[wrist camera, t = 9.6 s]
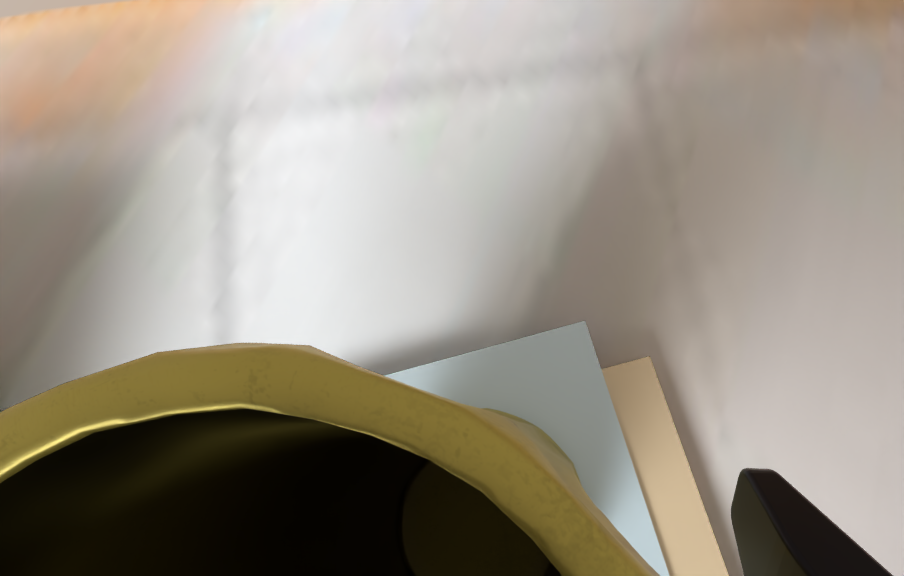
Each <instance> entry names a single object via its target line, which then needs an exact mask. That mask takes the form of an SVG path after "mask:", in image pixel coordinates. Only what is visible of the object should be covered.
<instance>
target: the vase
mask: <svg viewBox="0 0 904 576" xmlns="http://www.w3.org/2000/svg"><path fill="white" fill-rule="evenodd" d="M0 576H660V575H659V574H658V573H657V572H656V571H655V570H654V569H653V568H652V567H651V566H650V565H649V564H648V563H647V562H646V561H645V560H644V559H643V558H642V557H641V555H640V554H639V553H638V552H637V551H636V550H635V549H634V548H633V547H632V546H631V544H630V543H629V542H628V541H627V540H626V539H625V538H624V537H623V535H622V534H621V533H620V532H619V531H618V530H617V529H616V528H615V527H614V525H613V524H612V523H611V522H610V521H609V519H608V518H607V517H606V516H605V515H604V513H603V512H602V511H601V510H600V509H598V508H597V507H596V505H595V504H594V503H593V502H592V500H591V499H590V498H589V496H588V495H587V493H586V492H585V490H584V489H583V487H582V485H581V482H580V480H579V477H578V474H577V472H576V469H575V467H574V464H573V462H572V461H571V460H570V459H569V457H568V456H567V455H566V453H565V452H564V451H563V450H562V449H561V448H560V447H559V446H558V445H557V444H556V443H555V442H554V441H553V440H552V439H551V437H550V436H548V435H547V434H546V433H545V432H544V431H543V430H542V429H540V428H539V427H537V426H535V425H534V424H532V423H530V422H528V421H526V420H524V419H522V418H519V417H517V416H514V415H512V414H509V413H506V412H502V411H499V410H494V409H490V408H477V407H473V406H469V405H465V404H461V403H458V402H455V401H453V400H450V399H447V398H444V397H441V396H438V395H435V394H433V393H430V392H427V391H424V390H421V389H418V388H416V387H413V386H410V385H407V384H405V383H402V382H399V381H397V380H394V379H391V378H388V377H386V376H383V375H380V374H378V373H375V372H372V371H370V370H367V369H364V368H361V367H359V366H356V365H354V364H352V363H349V362H347V361H345V360H342V359H340V358H338V357H335V356H333V355H331V354H328V353H326V352H324V351H321V350H319V349H317V348H314V347H312V346H309V345H290V344H268V343H234V344H225V345H216V346H208V347H199V348H190V349H182V350H173V351H164V352H157V353H154V354H151V355H148V356H145V357H142V358H139V359H136V360H133V361H130V362H127V363H124V364H121V365H118V366H115V367H112V368H109V369H106V370H103V371H100V372H97V373H94V374H91V375H88V376H85V377H82V378H79V379H76V380H73V381H70V382H67V383H64V384H61V385H59V386H57V387H55V388H52V389H50V390H48V391H46V392H43V393H41V394H39V395H37V396H34V397H32V398H30V399H28V400H25V401H23V402H21V403H19V404H16V405H14V406H12V407H9V408H7V409H6V410H4V411H2V412H0Z"/></svg>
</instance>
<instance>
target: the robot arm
mask: <svg viewBox="0 0 904 576" xmlns="http://www.w3.org/2000/svg"><path fill="white" fill-rule="evenodd" d="M731 519H732V525H733V529H734V534H735V538H736V543H737V547H738V551H739V556H740V560H741V564H742V569H743V573H744V576H893V575H892V574H891V573H890V572H888V571H887V570H886V569H885V568H884V567H883V566H882V565H881V564H879V563H878V562H877V561H876V560H875V559H874V558H873V557H872V556H870V555H869V554H868V553H867V552H866V551H865V550H864V549H863V548H861V547H860V546H859V545H858V544H857V543H856V542H855V541H854V540H852V539H851V538H850V537H849V536H848V535H847V534H846V533H845V532H844V531H842V530H841V529H840V528H839V527H838V526H837V525H836V524H835V523H833V522H832V521H831V520H830V519H829V518H828V517H827V516H826V515H824V514H823V513H822V512H821V511H820V510H819V509H818V508H817V507H815V506H814V505H813V504H812V503H811V502H810V501H809V500H808V499H806V498H805V497H804V496H803V495H802V494H801V493H800V492H799V491H798V490H796V489H795V488H794V487H793V486H792V485H791V484H790V483H789V482H787V481H786V480H785V479H784V478H783V477H782V476H781V475H780V474H778V473H777V472H775V471H774V470H771V469H755V468H746V469H743V470H742V471H741V472H740V474H739V477H738V481H737V485H736V490H735V494H734V498H733V502H732V506H731Z"/></svg>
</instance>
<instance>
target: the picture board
mask: <svg viewBox="0 0 904 576" xmlns="http://www.w3.org/2000/svg"><path fill="white" fill-rule="evenodd" d="M385 376H386V377H388V378H391V379H394V380H397V381H399V382H402V383H405V384H407V385H410V386H413V387H416V388H418V389H421V390H424V391H427V392H430V393H433V394H435V395H438V396H441V397H444V398H447V399H450V400H453V401H455V402H458V403H461V404H465V405H469V406H473V407H477V408H490V409H494V410H499V411H502V412H506V413H509V414H512V415H514V416H517V417H519V418H522V419H524V420H526V421H528V422H530V423H532V424H534V425H535V426H537V427H539V428H540V429H542V430H543V431H544V432H545V433H546V434H547V435H548V436H550V437H551V439H552V440H553V441H554V442H555V443H556V444H557V445H558V446H559V447H560V448H561V449H562V450H563V451H564V452H565V453H566V455H567V456H568V457H569V459H570V460H571V461H572V462H573V464H574V467H575V469H576V472H577V474H578V477H579V480H580V482H581V485H582V487H583V489H584V490H585V492H586V493H587V495H588V496H589V498H590V499H591V500H592V502H593V503H594V504H595V505H596V507H597V508H598V509H600V510H601V511H602V512H603V513H604V515H605V516H606V517H607V518H608V519H609V521H610V522H611V523H612V524H613V525H614V527H615V528H616V529H617V530H618V531H619V532H620V533H621V534H622V535H623V537H624V538H625V539H626V540H627V541H628V542H629V543H630V544H631V546H632V547H633V548H634V549H635V550H636V551H637V552H638V553H639V554H640V555H641V557H642V558H643V559H644V560H645V561H646V562H647V563H648V564H649V565H650V566H651V567H652V568H653V569H654V570H655V571H656V572H657V573H658V574H659V575H660V576H729V575H728V572H727V569H726V566H725V564H724V561H723V558H722V555H721V553H720V550H719V547H718V544H717V541H716V539H715V536H714V533H713V530H712V528H711V525H710V522H709V519H708V516H707V514H706V511H705V508H704V505H703V503H702V500H701V497H700V494H699V491H698V489H697V486H696V483H695V480H694V477H693V475H692V472H691V469H690V466H689V464H688V461H687V458H686V455H685V452H684V450H683V447H682V444H681V441H680V439H679V436H678V433H677V430H676V427H675V425H674V422H673V419H672V416H671V414H670V411H669V408H668V405H667V402H666V400H665V397H664V394H663V391H662V389H661V386H660V383H659V380H658V377H657V375H656V372H655V369H654V366H653V364H652V361H651V358H650V356H649V357H645V358H641V359H637V360H634V361H630V362H626V363H622V364H619V365H615V366H611V367H607V368H604V369H601V367H600V364H599V361H598V358H597V355H596V352H595V349H594V346H593V343H592V340H591V337H590V334H589V331H588V328H587V325H586V322H585V321H582V322H578V323H574V324H571V325H567V326H563V327H560V328H556V329H552V330H549V331H545V332H541V333H538V334H534V335H531V336H527V337H523V338H520V339H516V340H512V341H509V342H505V343H501V344H498V345H494V346H490V347H487V348H483V349H479V350H476V351H472V352H468V353H465V354H461V355H458V356H454V357H450V358H447V359H443V360H439V361H436V362H432V363H428V364H425V365H421V366H417V367H414V368H410V369H406V370H403V371H399V372H395V373H392V374H388V375H385Z"/></svg>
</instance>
